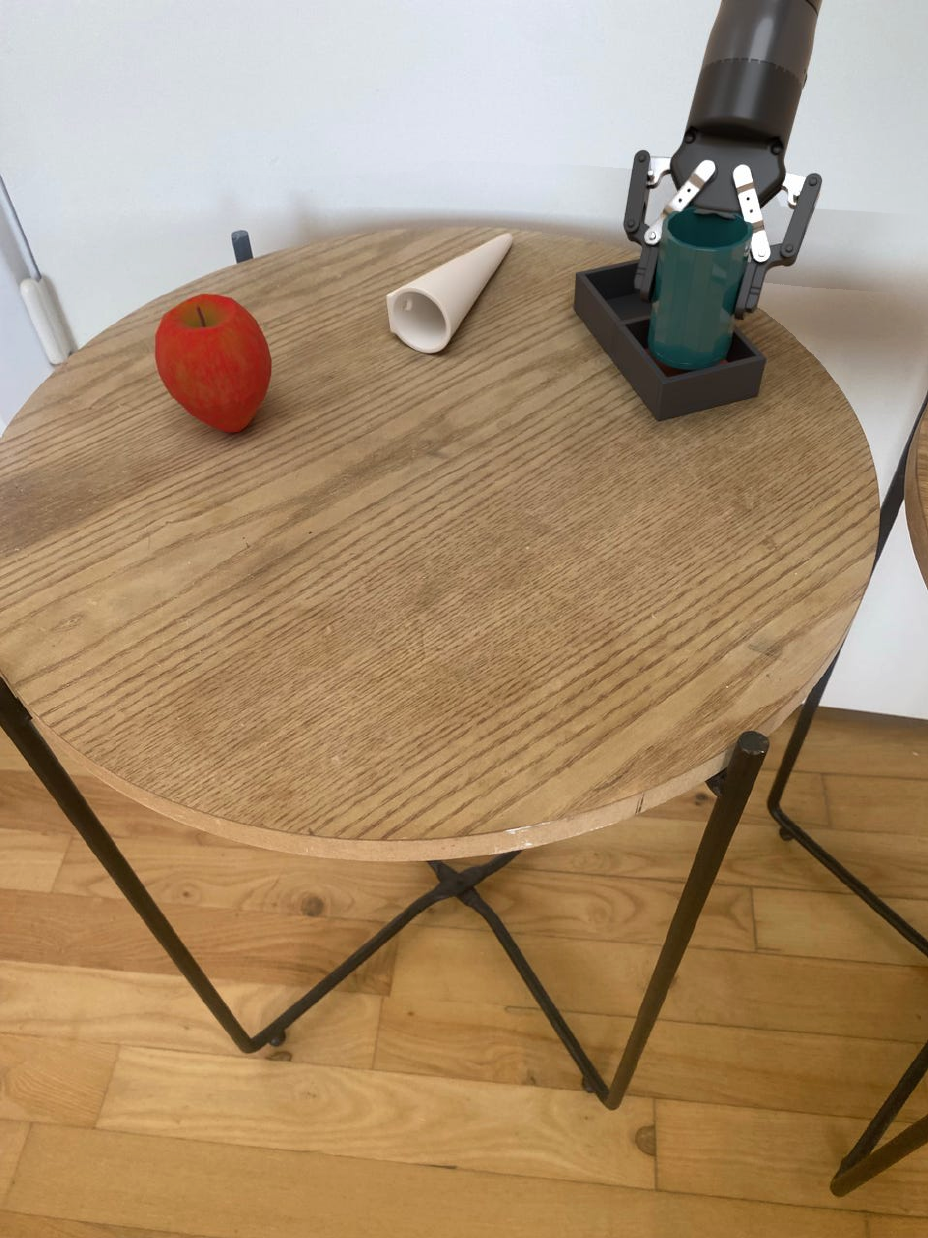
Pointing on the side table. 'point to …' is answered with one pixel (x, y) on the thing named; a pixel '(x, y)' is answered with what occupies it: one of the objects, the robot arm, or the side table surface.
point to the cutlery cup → (697, 288)
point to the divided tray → (624, 337)
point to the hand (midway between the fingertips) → (691, 308)
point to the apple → (214, 360)
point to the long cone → (443, 297)
